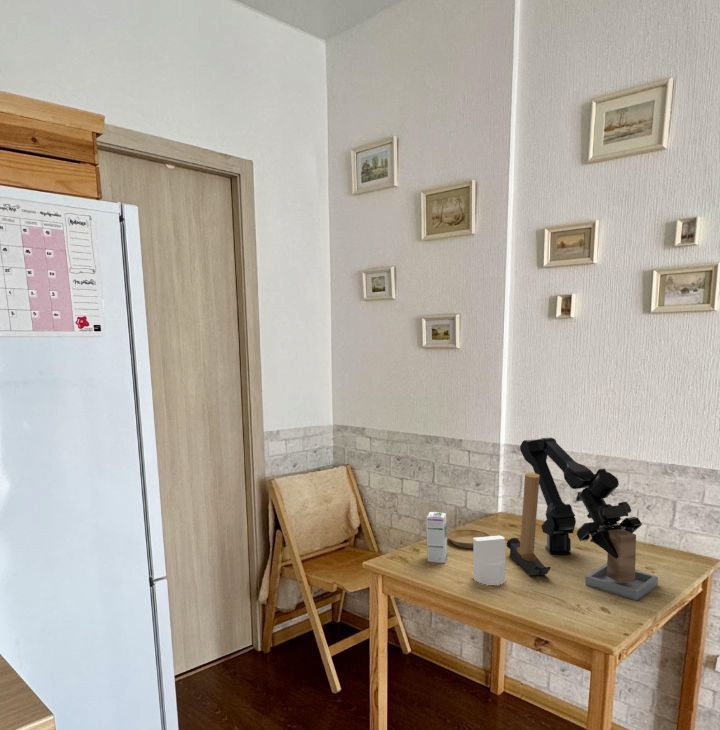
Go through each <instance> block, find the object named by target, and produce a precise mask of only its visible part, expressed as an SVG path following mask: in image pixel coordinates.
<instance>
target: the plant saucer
mask: <svg viewBox="0 0 720 730" xmlns="http://www.w3.org/2000/svg"><path fill="white" fill-rule="evenodd" d="M488 536H491V535H490V534H489V533H487V532H485V531H482V530H477V529H471V528H470V529H467V528H466V529H457V530H455V529H454V530H452V531H449V532H447V539H448V540H449V541H450V542H451V543H452V544H454V545H455V546H457V547H460V548H463V549H464V548H465V549H466V548H467V549H473V538H476V537H488Z"/></svg>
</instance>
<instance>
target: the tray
mask: <svg viewBox="0 0 720 730" xmlns="http://www.w3.org/2000/svg"><path fill="white" fill-rule="evenodd" d="M584 577H585V578H584V579H585V586H587V587H590V588H593V589H598V590H601V591H604V592H607V593H610V594H613V595H617V596H620V597H623V598H627V599H629V600H633V601H635V602H639V601H640V600H641V599H643V598H644V597H646V596H647V595H648V594H649V593H651V591H653V590H654V589H655V588H657V587H658V586H659V576H657V575H653V574H650V573H646V572H641V571H639V570H635V582H627V583H618V582H617V581H615V580H613V579H611V578H609V577H608V576H607V562H606V563H604V564H603V565H602V566H600V567H598V568H597V569H595V570H593V571H592V572H590V573H588V574H587V575H585V576H584Z"/></svg>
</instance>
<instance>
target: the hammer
mask: <svg viewBox="0 0 720 730" xmlns="http://www.w3.org/2000/svg"><path fill="white" fill-rule="evenodd" d="M539 477H540V475H539V474H536V473H535V472H525V474H524V484H523V485H524V486H523V502H522V514H521V526H520V527H521V529H520V539H518V538H516V537H512V538H509V540H507V542H506V547H507V548H508V549H509V556H510V558H511V559H512V560H513V562H514V563H515V564H516V565H517V566H518V567H519V566H520V567H521V568H522V569H523V570H524V571H523V570H522V569H521V568H520V567H519V568H520V569H521V570H522V571H523V572H525V574H526V575H528V574H529V575H528V576H540V575H543V576H544V575H547V574H548V573H549V571H550V569H551V568H552V567H551V566H547V567H546V566H545V564H543V563H542V562H541V560H540V559H539V557H537V556H536V554H535V552H534V551H535V541H536V539H535V538H536V528H537V526H536V525H537V517H538V516H537V515H538V513H537V512H538V504H539V503H538V502H539V487H540V485H539Z"/></svg>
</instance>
